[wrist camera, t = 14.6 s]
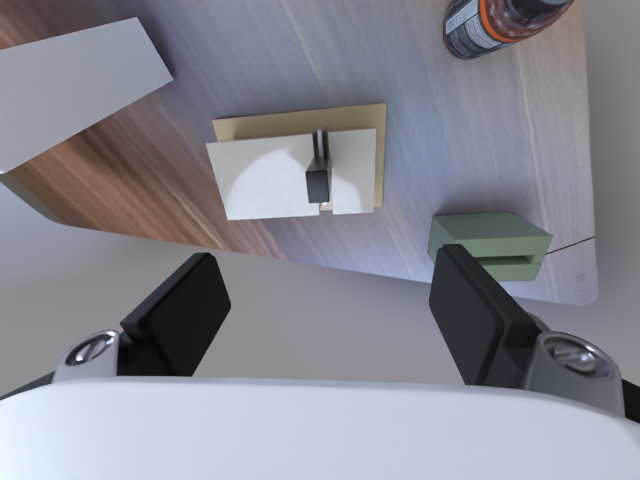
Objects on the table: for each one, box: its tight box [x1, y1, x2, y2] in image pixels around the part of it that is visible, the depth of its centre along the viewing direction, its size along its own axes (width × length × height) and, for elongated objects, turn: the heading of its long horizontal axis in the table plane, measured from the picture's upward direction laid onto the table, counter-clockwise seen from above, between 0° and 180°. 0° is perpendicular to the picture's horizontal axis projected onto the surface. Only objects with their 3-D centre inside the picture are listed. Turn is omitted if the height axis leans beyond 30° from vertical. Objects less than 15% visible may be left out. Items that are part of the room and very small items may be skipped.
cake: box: [206, 103, 387, 220], centre depth 27 cm, size 12×20×8 cm, turn 95°
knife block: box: [427, 212, 553, 281], centre depth 30 cm, size 10×6×7 cm, turn 95°
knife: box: [305, 126, 331, 205], centre depth 23 cm, size 7×2×13 cm, turn 5°
